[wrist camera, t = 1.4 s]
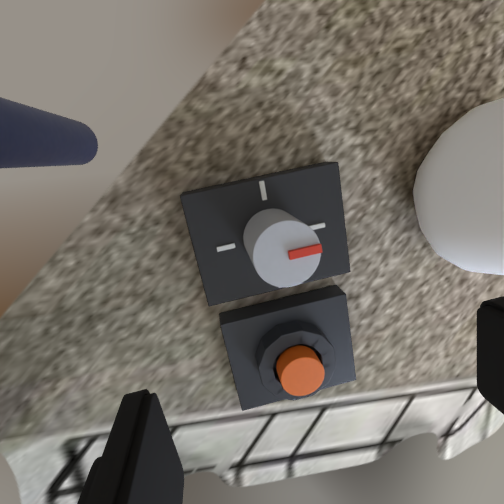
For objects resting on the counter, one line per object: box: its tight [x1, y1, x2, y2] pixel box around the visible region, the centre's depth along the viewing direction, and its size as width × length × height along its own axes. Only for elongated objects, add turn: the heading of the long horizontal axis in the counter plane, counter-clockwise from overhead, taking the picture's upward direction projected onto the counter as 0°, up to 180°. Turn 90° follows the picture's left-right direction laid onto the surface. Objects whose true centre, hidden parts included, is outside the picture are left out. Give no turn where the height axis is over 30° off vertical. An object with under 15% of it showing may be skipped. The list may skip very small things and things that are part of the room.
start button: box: [276, 345, 325, 396], centre depth 26 cm, size 4×4×2 cm
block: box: [219, 285, 356, 411], centre depth 29 cm, size 11×9×4 cm
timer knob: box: [243, 209, 322, 287], centre depth 23 cm, size 4×4×5 cm
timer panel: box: [180, 162, 350, 306], centre depth 26 cm, size 12×9×3 cm
